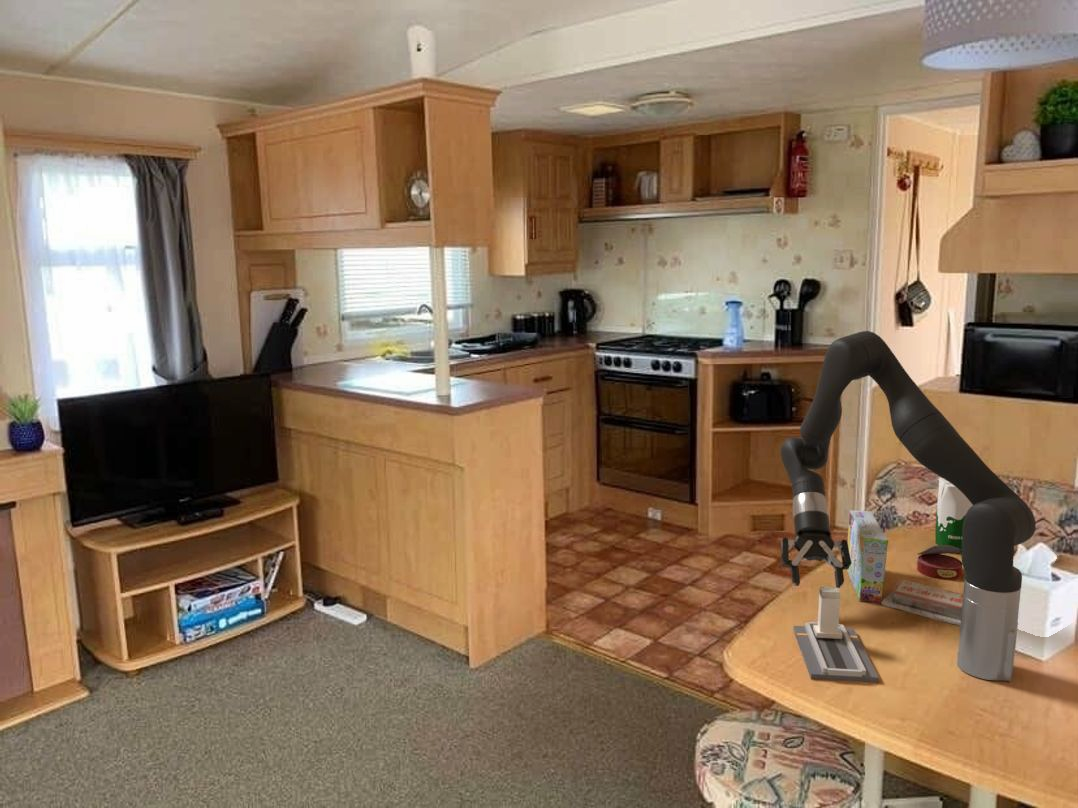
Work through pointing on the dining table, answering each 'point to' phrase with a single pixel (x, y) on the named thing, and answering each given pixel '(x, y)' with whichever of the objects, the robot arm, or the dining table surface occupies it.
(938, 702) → the dining table surface
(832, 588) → the fader tab
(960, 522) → the milk carton
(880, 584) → the snack box
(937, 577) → the canned food
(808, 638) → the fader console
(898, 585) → the packaged product
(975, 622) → the robot arm
